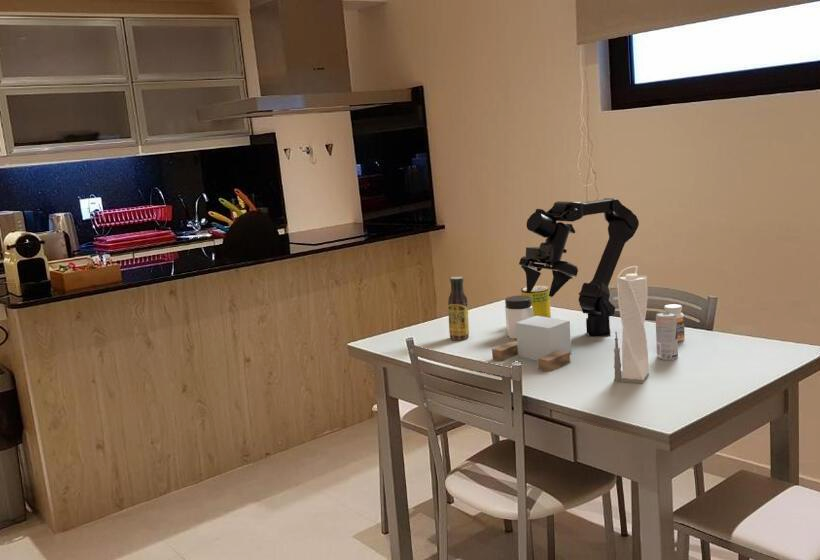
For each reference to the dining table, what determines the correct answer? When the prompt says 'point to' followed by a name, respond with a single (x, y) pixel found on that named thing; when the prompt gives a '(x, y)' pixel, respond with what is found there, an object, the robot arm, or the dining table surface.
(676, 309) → the pill bottle
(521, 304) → the jar
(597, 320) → the robot arm
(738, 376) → the dining table surface
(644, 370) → the skyscraper
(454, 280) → the sauce bottle
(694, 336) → the dining table surface
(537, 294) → the yellow can
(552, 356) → the pair of brown bars
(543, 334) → the block
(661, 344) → the energy drink
